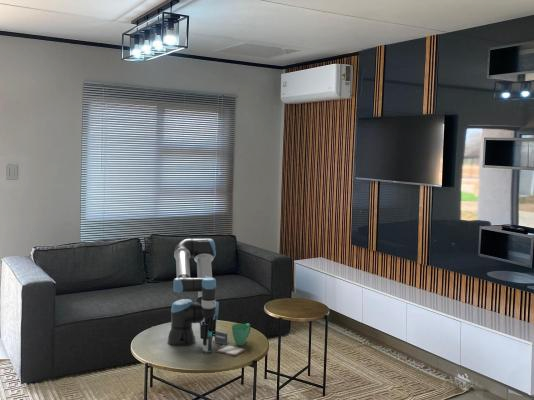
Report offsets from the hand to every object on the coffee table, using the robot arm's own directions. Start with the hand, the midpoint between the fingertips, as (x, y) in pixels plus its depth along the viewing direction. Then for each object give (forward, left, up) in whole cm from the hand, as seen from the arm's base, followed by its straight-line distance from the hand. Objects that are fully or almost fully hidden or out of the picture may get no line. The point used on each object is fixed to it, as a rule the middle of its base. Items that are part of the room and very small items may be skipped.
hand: (207, 349), depth 306 cm
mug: (+8, +23, -2) cm, 24 cm away
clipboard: (+9, +8, -2) cm, 13 cm away
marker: (0, 0, -2) cm, 2 cm away
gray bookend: (-2, +16, -2) cm, 16 cm away
